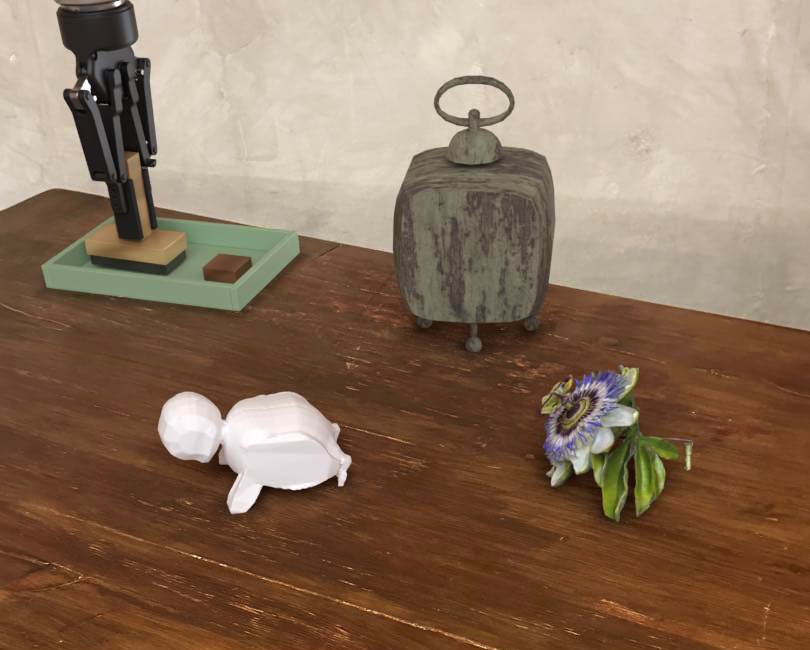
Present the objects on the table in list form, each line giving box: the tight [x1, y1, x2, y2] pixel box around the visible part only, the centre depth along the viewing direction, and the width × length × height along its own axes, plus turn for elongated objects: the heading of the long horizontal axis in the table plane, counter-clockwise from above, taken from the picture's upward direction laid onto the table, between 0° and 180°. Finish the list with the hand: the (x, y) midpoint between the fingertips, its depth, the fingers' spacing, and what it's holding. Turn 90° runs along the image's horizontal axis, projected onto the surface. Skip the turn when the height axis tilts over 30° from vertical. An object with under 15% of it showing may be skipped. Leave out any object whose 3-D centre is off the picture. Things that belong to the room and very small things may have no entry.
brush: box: [84, 151, 187, 274], centre depth 123 cm, size 10×5×12 cm, turn 71°
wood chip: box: [202, 254, 252, 284], centre depth 123 cm, size 4×4×2 cm
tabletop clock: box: [392, 75, 556, 354], centre depth 103 cm, size 14×9×25 cm, turn 82°
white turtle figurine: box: [157, 391, 352, 515], centre depth 90 cm, size 9×8×15 cm
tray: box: [40, 215, 301, 312], centre depth 125 cm, size 24×16×3 cm, turn 71°
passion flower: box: [536, 364, 695, 523], centre depth 88 cm, size 11×11×12 cm
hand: (138, 232), depth 124 cm, fingers closed on brush, 2 cm apart
